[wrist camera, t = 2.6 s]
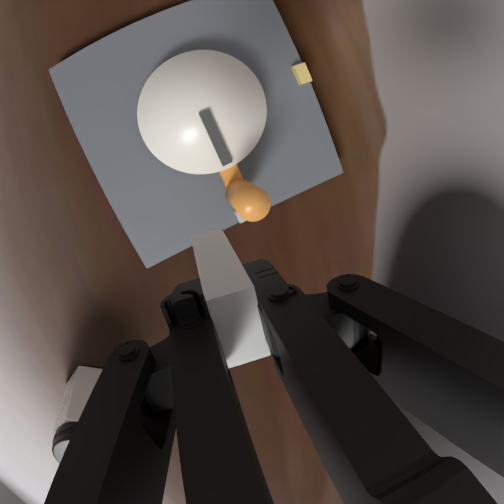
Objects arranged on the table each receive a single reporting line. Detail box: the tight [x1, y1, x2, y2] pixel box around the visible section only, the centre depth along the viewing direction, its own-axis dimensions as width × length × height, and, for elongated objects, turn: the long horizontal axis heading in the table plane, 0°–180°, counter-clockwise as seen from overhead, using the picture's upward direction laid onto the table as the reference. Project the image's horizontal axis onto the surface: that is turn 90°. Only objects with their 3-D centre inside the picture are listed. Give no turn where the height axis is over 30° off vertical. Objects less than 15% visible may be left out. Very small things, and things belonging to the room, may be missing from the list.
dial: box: [137, 50, 271, 222], centre depth 24 cm, size 15×11×6 cm
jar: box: [52, 366, 103, 463], centre depth 31 cm, size 9×8×12 cm
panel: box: [49, 0, 343, 268], centre depth 27 cm, size 22×22×3 cm
